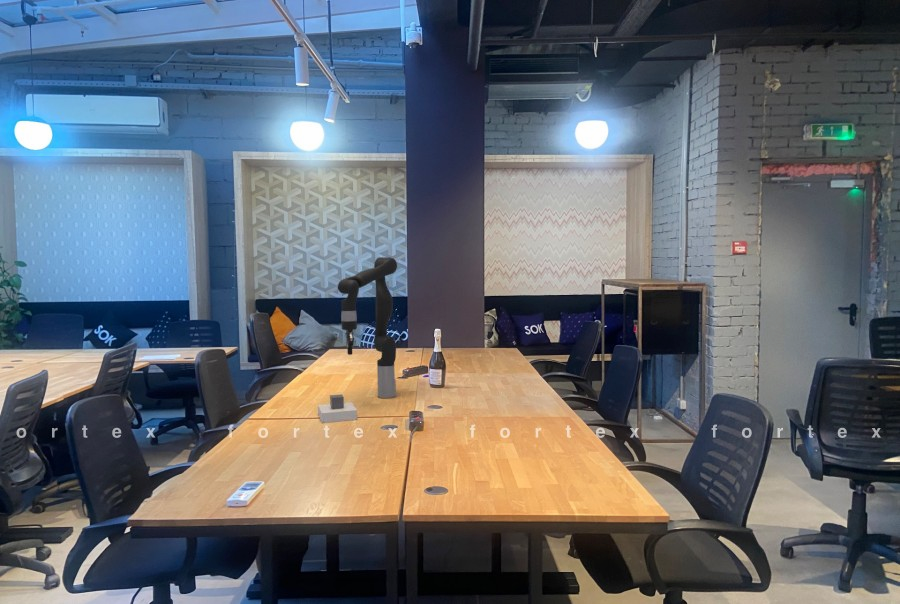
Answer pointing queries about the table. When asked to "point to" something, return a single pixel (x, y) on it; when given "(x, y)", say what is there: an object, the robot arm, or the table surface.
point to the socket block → (337, 413)
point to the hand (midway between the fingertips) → (349, 354)
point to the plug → (336, 401)
